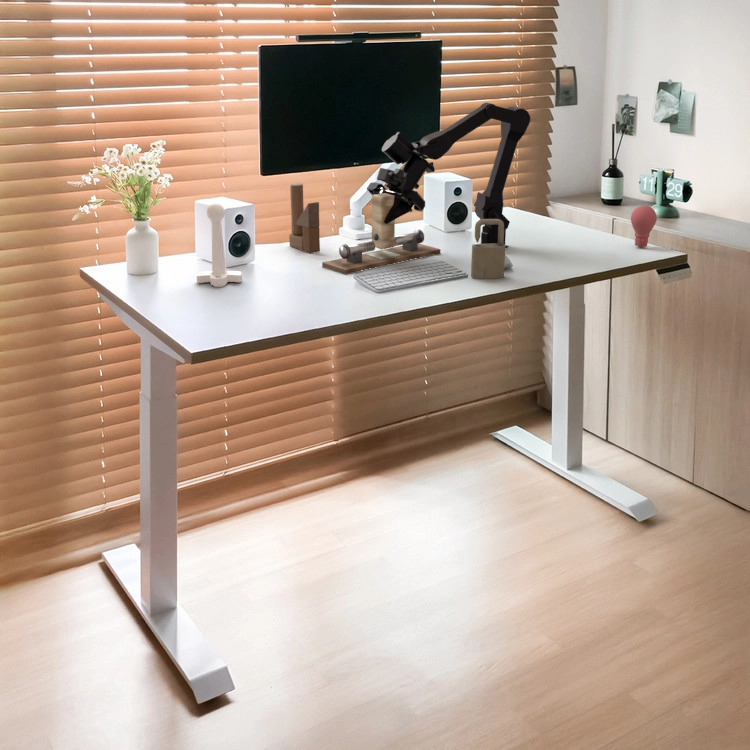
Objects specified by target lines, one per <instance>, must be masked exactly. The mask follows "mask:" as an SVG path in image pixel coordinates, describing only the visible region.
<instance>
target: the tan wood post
mask: <svg viewBox="0 0 750 750" xmlns="http://www.w3.org/2000/svg"><path fill="white" fill-rule="evenodd" d="M393 204H394V195H390V194H387V193H382V194H375V195H371V241H373V242H374V244H375V249H379V250H384V249H389V248H394V247H396V246H395V229H396V228H395V222H396V221H395V220H396V219H395V220H393V221H391V222H390V223H388V224H385V223H384V220H385V218H386V216H387V215H388V213H389V211H390V210H391V208H392V206H393Z"/></svg>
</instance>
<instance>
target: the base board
mask: <svg viewBox="0 0 750 750" xmlns="http://www.w3.org/2000/svg"><path fill="white" fill-rule="evenodd" d="M439 254H441V249H440V248H437V247H434V246H431V245H425V244H423V243H418V250H417V251H412V252H410V251H407V250H403V245H398V246H395V247H392V248H386V249H379V250H376V251H375V250H374V251H369V252H365V253H362V262H361V263H356V264H354V263H351V262H348V261H347V259H343V258H342V257H341V258H337V259H333V260H332V259H331V260H328V261H323V262H322V263H321V266H322V268H325V269H328V270H331V271H334V272H337V273H340V274H343V275H348V274H349V275H350V274H353V273H358V271H359V272H362V271H361V270H363V271H366V270H365V269H368V270H370V269H369V268H372V269H376V268H375V267H377V268H380V267H386V266H389V265H394V263H395V264H398V262H399V263H403V262H402V261H404V262H407V261H406V260H408V261H411V260H410V259H413V260H416V259H415V258H417V259H420V257H422V258H426V257H430V256H434V255H439Z"/></svg>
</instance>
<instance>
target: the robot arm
mask: <svg viewBox="0 0 750 750" xmlns="http://www.w3.org/2000/svg"><path fill="white" fill-rule="evenodd" d="M490 120H495V121H500V134H501V138H500V139H501V140H500V141H499V145H498V148H497V152H496V155H495V159H494V162H493V166H492V169H491V172H490V176H489V178H488V179H489V180H488V183H487V186H486V188H485V189H484V191H483V192H480V191H479V192H477V194H476V200H475V203H474V204H473V207H474V213H475V215H476V217H477V218H478V219H479V220H481V219H500V220H501V221H502V222H503V223H504V240H503V244H504V245H505V246H506V247H505V249H508V248H510V246H509V245H506V239H507V238H506V236H507V235H506V234H507V232H506V231H507V229H509V225H510V223H511V222H510V220H509V219H508V218H507V217H506V216H505V214H503V211H504V189H505V187H506V182H507V179H508V176H509V172H510V170H511V165H512V163H513V159H514V156H515V153H516V150H517V149H516V148H517V146H518V143H519V142H520V140H521V139H522V137H523V136H524V135H525V133H526V131H527V129H528V128H529V125H530V123H531V115H530V113H529V112H528V110H527V109H525V108H521V107H519V106H518V107H517V106H508V107H502V106H498V105H496V104H493V103H490V102H483V103H482V104H481V105H480V106H479V107H477V108H476V109H474V110H472V111H471V112H469V113H468V114H466V115H465V116H463V117H462V118H460V119H459V120H456V122H454V123H453V124H451V125H449V126H448V127H447V128H444V129H441V130H438V131H434V132H432V133H429V134H427V135H424V136H423V137H422V138H421V139H420V140H419V141H413V142H410V141H409V140H408V139H407V138H406V137H405V135H403V134H402V133H401V132H400V131H396V133H395V134H394V135H392V136H390V138H388V139H387V140H386V141H385V142H384V144H383V146H382V147H381V152H382V153H384V154H385V155H386V156H387V157H388V158H389V159H390V160H392V161H393V163H395V164H396V165H399V164H401V165H403V166H402V167H401V169H400V168H395V169H394V170H392V169H388V168H384V167H379V169H378V172H377V176H376V180H377V181H381V182H383V183H385V184H383V183H380V182H373V181H372V182H370V183H369V185H368V186H367V187H366V190H367V191H368V193H369V194H370V195H371V196H372V195H375V194H382V193H387V194H390V195H394V204H393V206H392V208H391V210H390V211H389V213H388V215H387V216H386V218H385V220H384V223H385V224H388V223H390V222H391V221H393V220H397V219H398V218H400V217H402V216H404V215H406V214H408V213H412V212H413V209H414V211H418V212H420V213H421V212H423V210H424V209H425V208H426V200H425V199H424V198H423V197H422V195H421V194H420V193H419V192H418V191H416V190H418V189H419V188H420V185H419V184H418V183H419V182H420V180H421V179H422V178H423V175H424V174H425V173H434V172H435V170H436V169H435V166H434V161H430V162H429V161H428V160H427V159H431V160H439V159H441V158H442V157H443V156H444V155H446V154H447V153H448V152H449V151H450V150H451V148H452V147H453V146H454V144H455V143H457V142H458V141H459V140H460V139H462V138H464V137H465V136H467V135H468V134H470V133H471V132H473V131H474V130H476V129H478V128H480V127H481V126H482V125H484V124H486V123H487V122H488V121H490ZM418 154H419V155H422V156H419V155H418ZM423 156H424V157H423ZM425 157H426V158H427V159H426V158H425ZM387 188H388V189H387ZM415 189H416V190H415ZM412 208H413V209H412ZM481 227H482V229H481V232H480V244H491V243H495V244H498V225H482V226H481Z"/></svg>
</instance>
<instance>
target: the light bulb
mask: <svg viewBox="0 0 750 750" xmlns="http://www.w3.org/2000/svg"><path fill="white" fill-rule="evenodd" d="M657 216H658V215H657V213H656V211H655V209H654V208H653V207H651V206H648V205H640V206H639V205H638V206H637V207H636V208H635V209H634V210H633V211H632V213H631V216H630V223H631V225H632V228H633V230H634V231H633V232H634V237H635V238H634V244H633V245H634V246H636V247H638V248H641V249H642V248H644V247H645V248H646V247H647V246H648V242H649V237H650V233H651V232H652V230H653V228H654V227H655V225H656V223H657V220H658V218H657Z"/></svg>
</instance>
